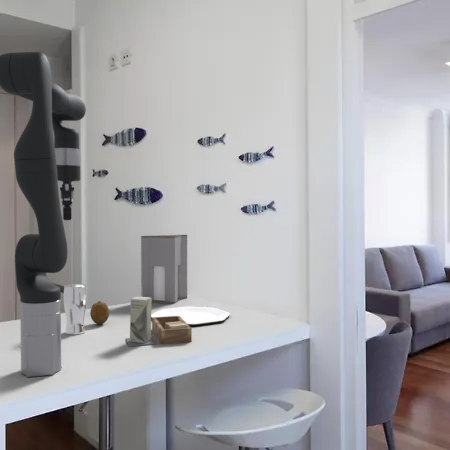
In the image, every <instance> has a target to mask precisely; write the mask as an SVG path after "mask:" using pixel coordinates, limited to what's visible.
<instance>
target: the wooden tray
mask: <svg viewBox="0 0 450 450" xmlns="http://www.w3.org/2000/svg"><path fill="white" fill-rule="evenodd" d="M178 321H181V322H183V323H185V324H186V325H187V328H177V329H165V323H169V322H178ZM192 329H193V328H192V327H191V325H188V324H187V323H186V322H185V321H184V320H183V319H182V318H181V317H180V316H166V317H152V318H151V330H152V332H153V334H154V335H155V336H156V337H157V339H158V341H159V342H160V344H161V345H167V344H179V343H192V341H193V340H192V331H193V330H192Z"/></svg>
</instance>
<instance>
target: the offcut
mask: <svg viewBox="0 0 450 450" xmlns="http://www.w3.org/2000/svg"><path fill="white" fill-rule="evenodd" d="M177 328H187V325H186V324H185V323H183V322H181V321H178V322H169V323H165V329H177Z"/></svg>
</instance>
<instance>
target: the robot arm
mask: <svg viewBox="0 0 450 450" xmlns="http://www.w3.org/2000/svg"><path fill="white" fill-rule="evenodd" d="M50 65H51V64H50V61H49V59H48V57H47V55H46V54H45V53H44V52H41V51H20V52H19V51H18V52H7V53H2V54H1V55H0V88H1V89H2V90H3V91H5V92H6V93H7V94H10V95H14V96H18V97H21V98H23V99H26V100H29V101H31V102H32V106H31V107H32V109H31V113H30V117H29V119H28V121H27V124H26V125H25V128H24V129H23V131H22V133H21V134H20V137H19V139H18V141H17V142H16V144H15V147H14V151H13V161H14V171H15V178H16V183H17V185H18V187H19V189H20V190H21V192H22V194H23V195H24V198H25V199H26V200H27V202H28V204H29V205H30V207H31V208H32V210H33V212H34V216H35V217H36V223H37V230H38V233H29V234H25V235H23V236H22V237H21V238H20V239H18V241H17V244H16V247H15V253H14V267H15V281H16V283H15V284H16V288H17V292H18V295H19V298H20V299H19V300H20V301H19V302H20V304H19V305H20V317H19V318H20V373H21V374H22V375H24V376H25V377H26V378H29V377H40V376H41V377H42V376H51V375H52V376H53V375H55V374H56V373H57V372H59V371H61V369H62V316H61V315H62V300H61V299H62V298H61V296H62V295H61V294H62V293H61V292H62V291H61V288H60V287H59V286H58V285H56V284H55V283H53V282H52V281H51V280H50V279H49V277H47V273H48V274H56V273H59V272H61V271H62V270H63V269H64V268H65V266H66V264H67V261H68V251H69V250H68V243H67V237H66V231H65V226H64V222H63V220H64V221H71V220H72V207H73V202H74V194H75V187H74V186H73V184H72V182H80V181H81V152H80V133H79V131H78V130H77V129H74V128H71V127H65V126H64V123H63V122H65V121H66V122H68V121H69V122H70V121H71V122H74V121H75V122H77V121H81V120H82V119H83V118H84V117H85V115H86V112H87V111H86V110H87V109H86V103H85V102H84V100H83V99H82V98H81V97H80V96H79V95H77V94H76V93H72V92H69V91H66V90H64V88H62V87H61V86H59V84H57V83H55V82H53V81H52V70H51V66H50ZM59 182H62V184H61V187H59V184H58V183H59ZM60 201H61V202H60ZM61 203H62V204H61ZM61 205H62V206H61ZM61 207H62V211H61ZM62 214H63V215H62Z"/></svg>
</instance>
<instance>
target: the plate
mask: <svg viewBox="0 0 450 450" xmlns="http://www.w3.org/2000/svg"><path fill="white" fill-rule="evenodd" d="M166 316H180V317H181V318H182V319H183V320H184V321H185V322H186V323H187V324H188V325H189V326H198V325H207V324H216V323H221V322H224V321H225V320H226V319H228V318H229V316H231V313H230V312H228V311H225V310H222V309H219V308H217V307H208V306H207V307H204V306H181V307H179V306H178V307H170V308H162V309H159V310H157V311H155V312H153V313H151V319H152V317H166Z"/></svg>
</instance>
